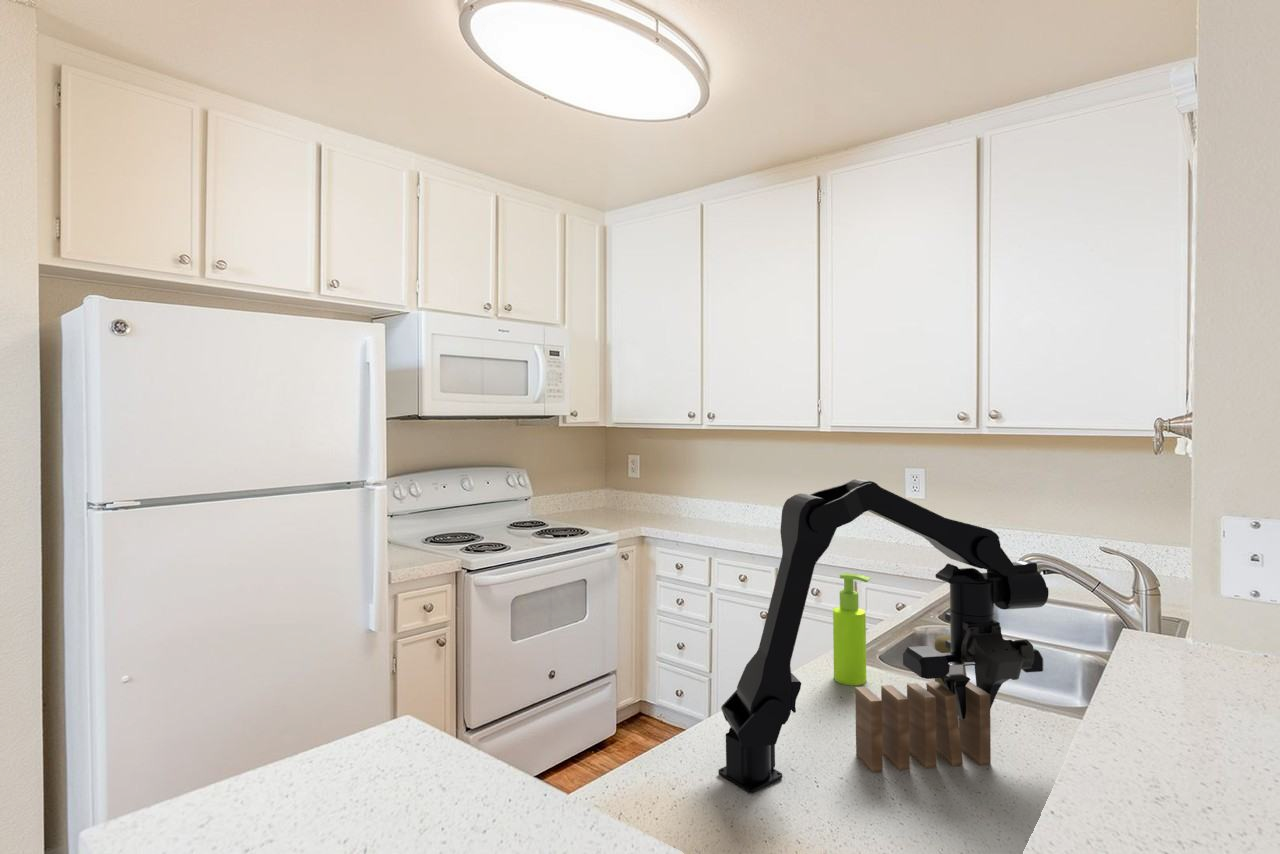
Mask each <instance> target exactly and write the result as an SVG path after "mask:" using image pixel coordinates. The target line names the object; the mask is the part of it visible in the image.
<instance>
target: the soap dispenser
mask: <svg viewBox="0 0 1280 854" xmlns="http://www.w3.org/2000/svg"><path fill="white" fill-rule="evenodd" d="M839 579H843V581H844V582H843V584H844V585H843V587H844V588H843V589H842V590H840V591H839V606H837V607H834V608H833V609H832V624H833V625H832V631H833V632H832V634H833V637H832V638H833V680H835V681H836V682H837V683H840V684H843V685H847V686H861V685H864V684H866V682H867V640H866V639H867V634H866V633H867V632H866V631H867V630H866V629H867V627H866V626H867V624H866V623H867V622H866V621H867V620H866V619H867V618H866V610H864V609H863V608H860V607H859V592H858V591H856V590H855V589H854V580H857V581H861V582H864V583H867V582H869V581H870V580H872V578H871V577H868V576H866V575H862V574H858V573H846V572H845V573H841V574H840V575H839Z"/></svg>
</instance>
